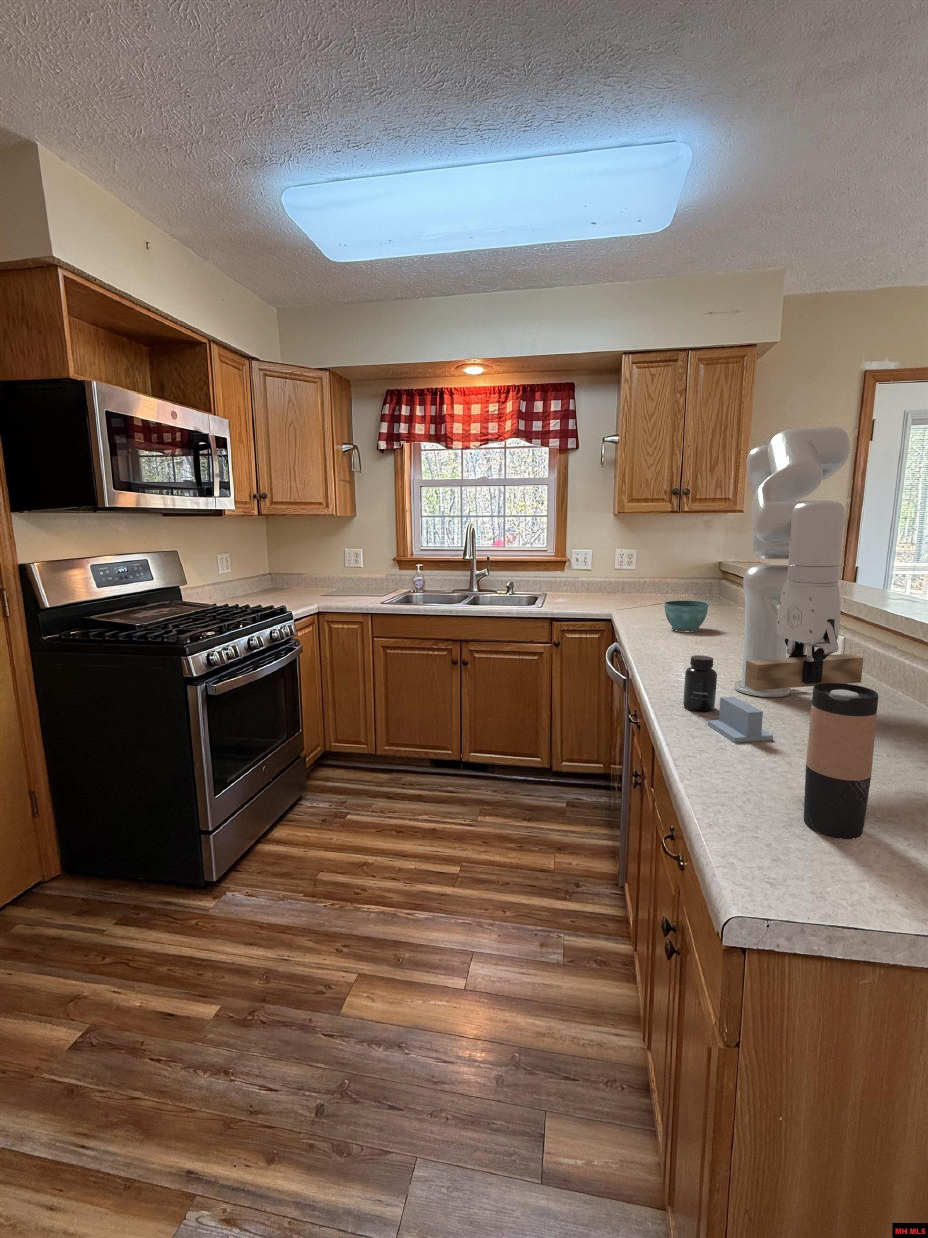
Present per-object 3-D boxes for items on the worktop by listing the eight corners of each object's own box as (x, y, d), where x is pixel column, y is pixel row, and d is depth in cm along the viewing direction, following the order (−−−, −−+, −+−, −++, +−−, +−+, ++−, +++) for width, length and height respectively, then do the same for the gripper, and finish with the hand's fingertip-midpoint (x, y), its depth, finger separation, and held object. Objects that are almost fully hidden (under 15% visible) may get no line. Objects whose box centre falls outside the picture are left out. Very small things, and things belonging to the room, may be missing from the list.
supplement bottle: (695, 714, 130) (698, 662, 128) (677, 705, 136) (679, 655, 134) (721, 710, 131) (724, 659, 129) (702, 702, 138) (704, 653, 136)
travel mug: (840, 811, 86) (853, 681, 82) (878, 839, 78) (894, 697, 75) (790, 813, 86) (800, 683, 82) (823, 841, 78) (836, 699, 75)
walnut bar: (847, 677, 104) (849, 653, 103) (860, 682, 101) (863, 657, 101) (744, 685, 102) (746, 660, 101) (755, 690, 99) (757, 664, 98)
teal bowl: (663, 633, 220) (664, 605, 218) (662, 626, 235) (663, 599, 234) (709, 635, 216) (710, 606, 214) (705, 627, 231) (706, 600, 229)
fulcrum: (743, 723, 123) (744, 695, 122) (772, 740, 114) (774, 711, 113) (707, 725, 123) (709, 697, 122) (734, 742, 113) (736, 713, 112)
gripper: (762, 571, 106) (755, 669, 109) (827, 581, 90) (817, 695, 93) (800, 570, 107) (792, 666, 110) (871, 580, 90) (860, 692, 94)
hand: (804, 678), depth 101 cm, fingers closed on walnut bar, 3 cm apart
